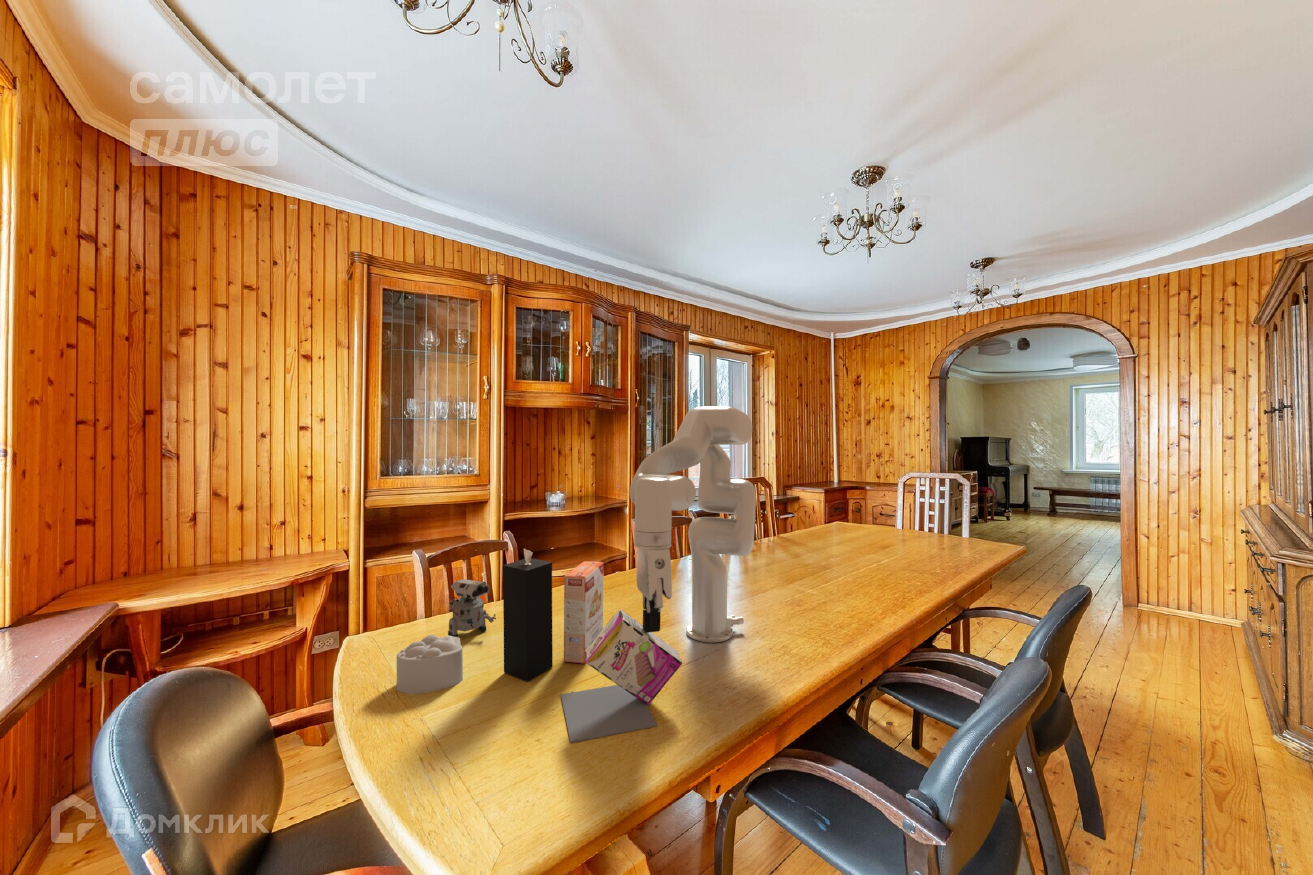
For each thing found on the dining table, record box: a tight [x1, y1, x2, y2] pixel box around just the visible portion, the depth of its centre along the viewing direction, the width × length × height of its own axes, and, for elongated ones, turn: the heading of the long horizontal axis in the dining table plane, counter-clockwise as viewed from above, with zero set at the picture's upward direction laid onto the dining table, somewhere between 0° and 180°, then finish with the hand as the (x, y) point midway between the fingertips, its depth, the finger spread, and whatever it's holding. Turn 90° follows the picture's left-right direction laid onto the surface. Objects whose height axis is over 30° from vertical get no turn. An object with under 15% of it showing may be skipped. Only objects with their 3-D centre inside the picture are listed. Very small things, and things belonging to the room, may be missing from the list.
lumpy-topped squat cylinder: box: [396, 634, 464, 695], centre depth 106 cm, size 10×13×9 cm
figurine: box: [447, 578, 497, 638], centre depth 129 cm, size 9×12×15 cm
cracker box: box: [563, 560, 605, 665], centre depth 120 cm, size 14×6×21 cm, turn 168°
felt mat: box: [560, 684, 658, 744], centre depth 95 cm, size 16×16×1 cm
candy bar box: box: [585, 608, 683, 706], centre depth 96 cm, size 11×5×16 cm
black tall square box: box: [502, 548, 554, 682], centre depth 110 cm, size 8×8×28 cm
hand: (651, 630), depth 96 cm, fingers closed
